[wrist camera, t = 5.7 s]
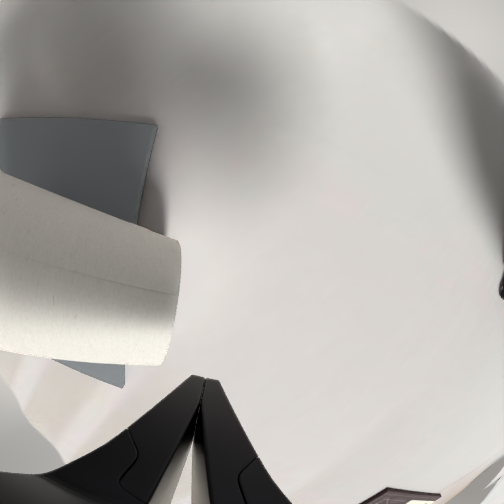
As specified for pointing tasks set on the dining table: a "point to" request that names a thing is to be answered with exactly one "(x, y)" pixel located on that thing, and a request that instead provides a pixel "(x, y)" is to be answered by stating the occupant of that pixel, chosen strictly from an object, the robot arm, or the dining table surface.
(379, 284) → the dining table surface
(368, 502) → the chocolate bar
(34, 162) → the mat
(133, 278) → the dixie cup
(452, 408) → the dining table surface
